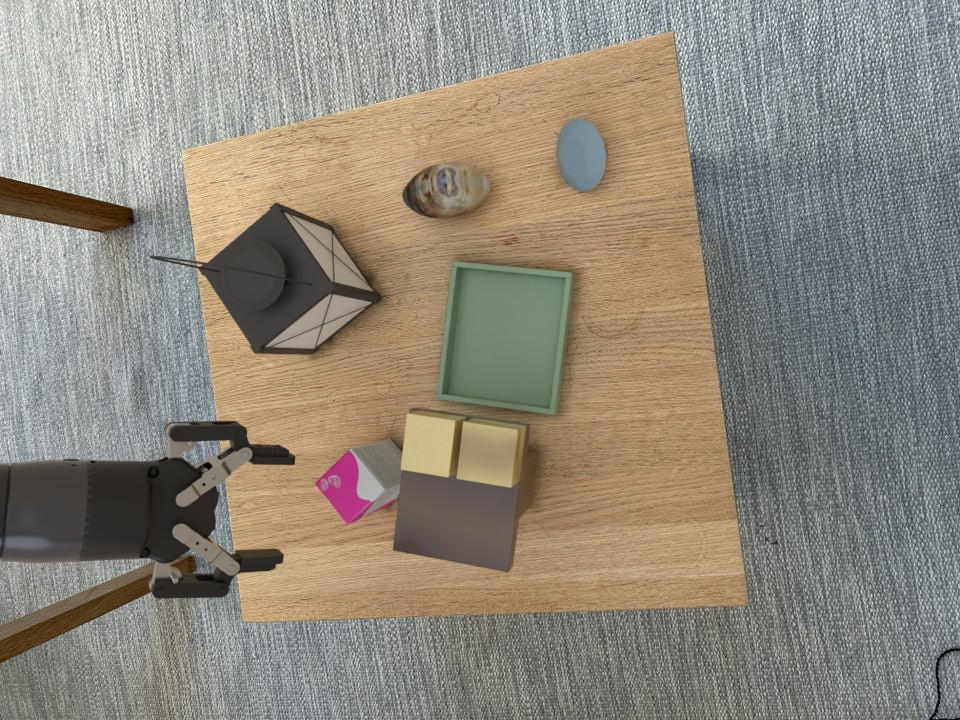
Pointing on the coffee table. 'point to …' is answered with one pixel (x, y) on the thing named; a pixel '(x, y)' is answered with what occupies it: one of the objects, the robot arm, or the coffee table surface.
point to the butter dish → (505, 337)
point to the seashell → (446, 190)
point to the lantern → (287, 282)
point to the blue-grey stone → (581, 154)
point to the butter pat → (432, 443)
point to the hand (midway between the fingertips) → (286, 507)
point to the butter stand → (471, 497)
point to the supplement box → (363, 480)
